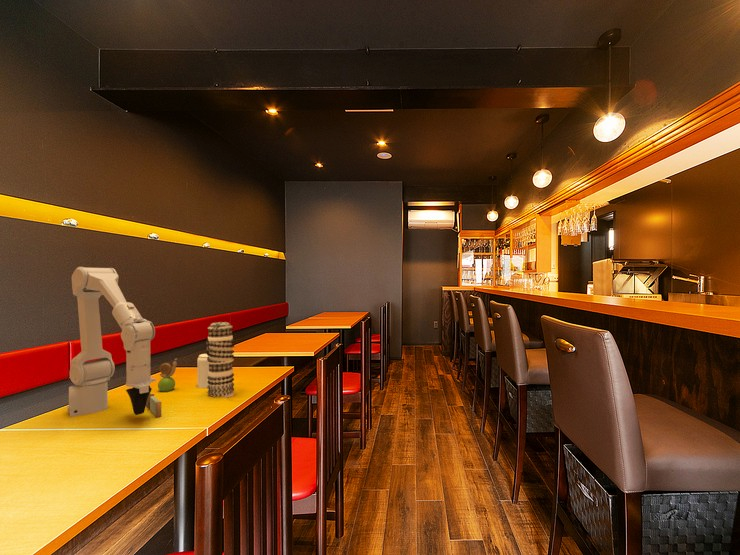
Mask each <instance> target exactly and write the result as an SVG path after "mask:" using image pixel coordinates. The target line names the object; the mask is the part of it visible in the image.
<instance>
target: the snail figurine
mask: <svg viewBox="0 0 740 555" xmlns="http://www.w3.org/2000/svg"><path fill="white" fill-rule="evenodd" d="M177 360H178V358H174V361H173V362H172V365H171V364H170V363H168V362H164V363H162V364H161V365H160V366H159V372H160V373H159V376H160V377H161V379H159V381H158V384H157V387H158V390H159V391H160V392H163V393H166V392H171V391H173V390H174V389H175V387H176V380H175V379H174V378H173V376H174V375H175V372H176V370H177V365H178V363H177V362H178V361H177Z"/></svg>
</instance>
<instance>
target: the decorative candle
mask: <svg viewBox="0 0 740 555" xmlns="http://www.w3.org/2000/svg"><path fill="white" fill-rule="evenodd" d="M207 329H208V336H207V340H206V342H205V345H207V347H206V348H205V349H206V353H205V354H207V355H208V356H209V357H208V358H207V360H208V361H207V363H209V371H208V375H209V376H208V377H207V378H208V379H209V380H208V382H207V383H208V384H209V385H208V387H207V388H206V389H207V392H206V393H207V394H208V395H209V396H210V397H215V398H218V397H220V398H221V397H222V398H224V399H227V398H231V397H233V396H234V395H235V392H234V391H235V388H234V386H235V383H234V380H235V378H234V376H235V373H234V368H233V362H234V360H235V359H234V357H235V355H234V353H235V351H234V350H233V348H234V347H235V344H234V343H235V340H234V337H233V325H231V324H230V322H227V321H224V322H223V321H219V322H212V323H210V325H209V326H208V327H207Z"/></svg>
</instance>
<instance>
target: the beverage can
mask: <svg viewBox="0 0 740 555" xmlns="http://www.w3.org/2000/svg"><path fill="white" fill-rule="evenodd" d="M208 357H209V356H208V355H207V354H206V353H202V354H199V355H198V357H197V361H196V362H197V366H196V367H197V388H198V389H199V388H200V389H207V387H208V385H209V384H208V383H207V382H208V380H209V379H208V378H207V377H208V376H209V375H208V371H209V363H207V361H208V360H207V358H208Z"/></svg>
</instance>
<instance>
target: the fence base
mask: <svg viewBox="0 0 740 555" xmlns="http://www.w3.org/2000/svg"><path fill="white" fill-rule="evenodd" d="M151 396H154V397H155V394H154V393H150V394H149V396H148V398H147V402H146V406H145V407H146V408H147V410H149V411H151V410H150V397H151Z"/></svg>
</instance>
